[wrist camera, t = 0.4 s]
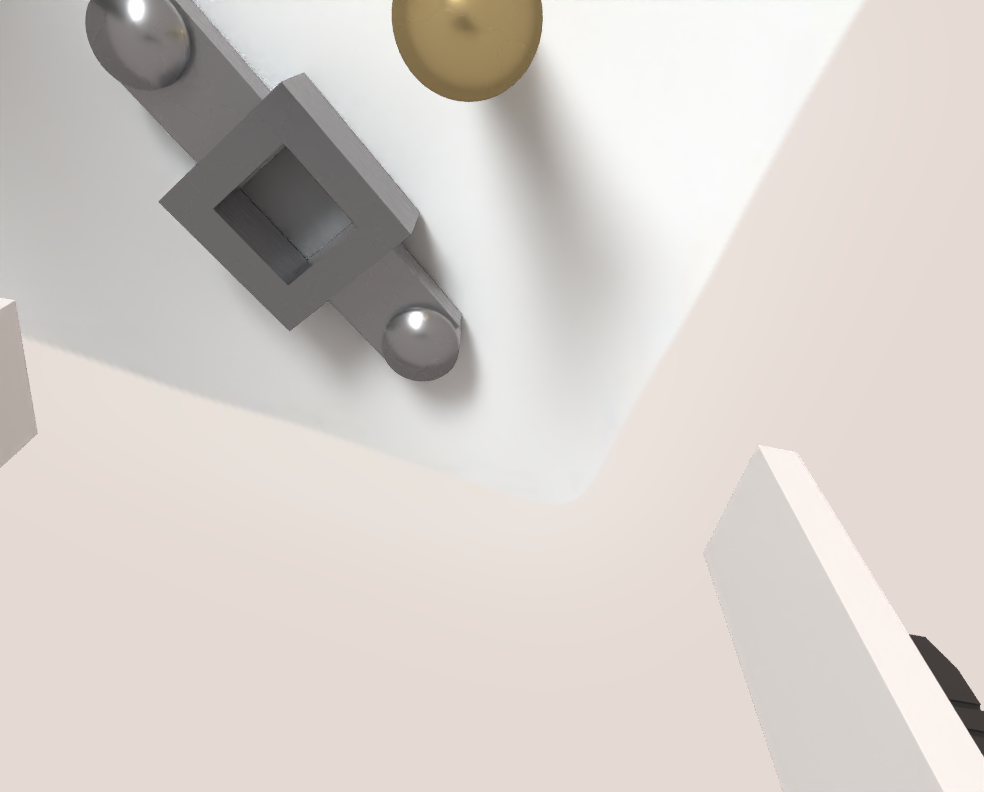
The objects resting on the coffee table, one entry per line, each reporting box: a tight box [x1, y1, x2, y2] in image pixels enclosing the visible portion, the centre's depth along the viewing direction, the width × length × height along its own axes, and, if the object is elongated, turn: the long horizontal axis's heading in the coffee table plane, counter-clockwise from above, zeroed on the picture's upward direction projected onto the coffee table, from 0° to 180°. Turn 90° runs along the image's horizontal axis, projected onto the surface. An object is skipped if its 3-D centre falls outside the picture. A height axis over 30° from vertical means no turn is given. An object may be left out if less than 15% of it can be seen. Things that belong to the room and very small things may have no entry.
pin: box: [392, 0, 543, 102], centre depth 24 cm, size 4×4×13 cm
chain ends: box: [86, 0, 462, 381], centre depth 32 cm, size 22×8×4 cm, turn 38°
